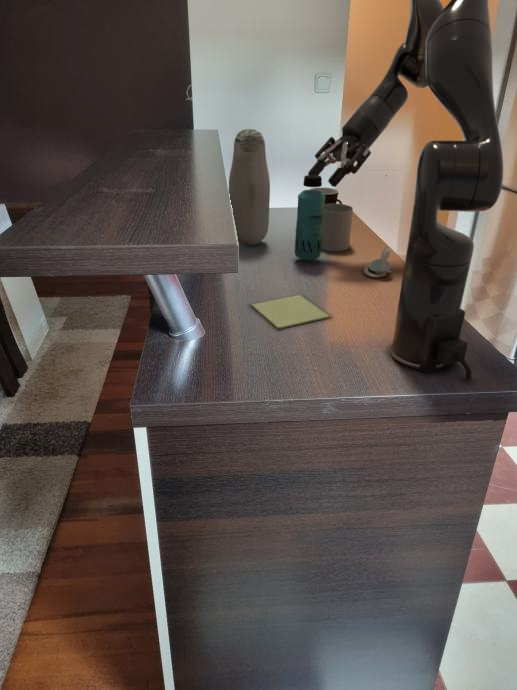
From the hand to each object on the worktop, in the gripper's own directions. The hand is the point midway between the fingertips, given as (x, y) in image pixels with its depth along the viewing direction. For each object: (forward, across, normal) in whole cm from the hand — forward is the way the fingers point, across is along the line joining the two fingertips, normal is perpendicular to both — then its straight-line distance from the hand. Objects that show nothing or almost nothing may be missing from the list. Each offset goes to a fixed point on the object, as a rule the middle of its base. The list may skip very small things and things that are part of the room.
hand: (320, 180), depth 116 cm
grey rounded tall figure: (+20, -18, +7) cm, 28 cm away
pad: (+28, +23, -1) cm, 36 cm away
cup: (+6, -7, +20) cm, 22 cm away
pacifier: (+8, +14, +19) cm, 25 cm away
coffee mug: (+2, -23, +25) cm, 34 cm away
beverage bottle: (+15, 0, +12) cm, 19 cm away
